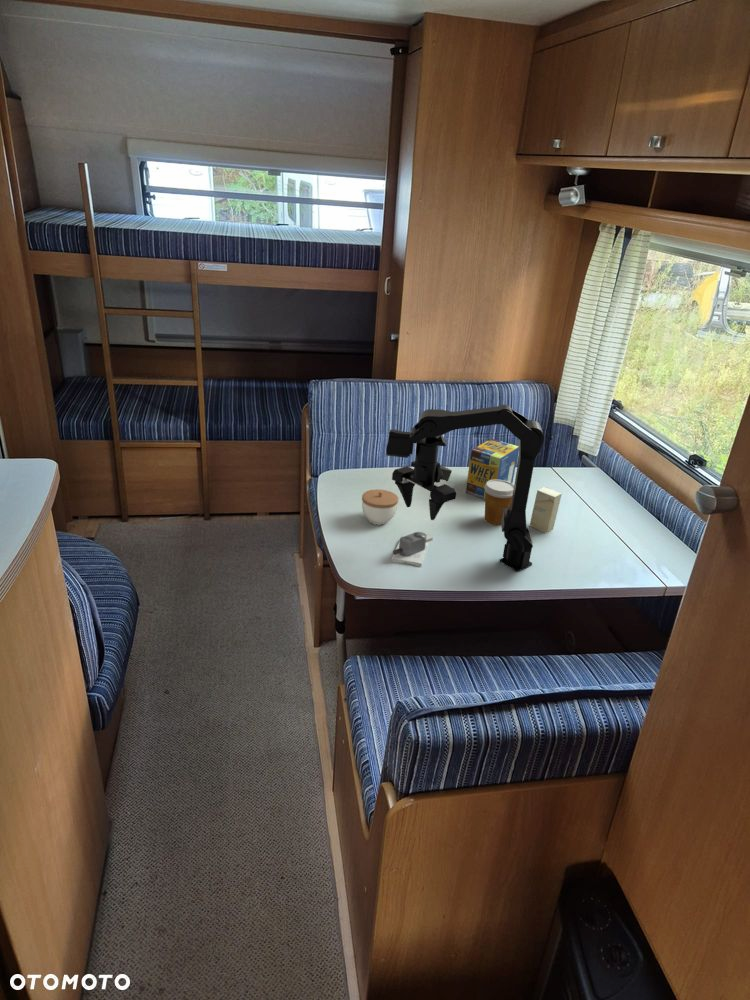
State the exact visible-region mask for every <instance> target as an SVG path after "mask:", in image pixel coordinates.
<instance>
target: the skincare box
mask: <svg viewBox="0 0 750 1000" xmlns="http://www.w3.org/2000/svg"><path fill="white" fill-rule="evenodd" d="M562 495H563V494H562V492H559V491H557V490H554V489H552V488H549V487H547V486H542V487H540V488H538V489H537V490H536V495H535V499H534V504H533V509H532V512H531V516H530V517H531V518H530V522H529V526H530V527H532V528H534V529H536V530H539V531H541V532H543V533H545V532H546V533H549V532H551V531H552V530H554V528H555V524H556V520H557V515H558V512H559V506H560V502H561V498H562Z"/></svg>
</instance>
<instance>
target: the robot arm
mask: <svg viewBox="0 0 750 1000" xmlns="http://www.w3.org/2000/svg"><path fill="white" fill-rule="evenodd" d="M511 407H512V406H511ZM511 407H510V405H508V404H501V405H498V406H490V407H483V408H473V409H466V410H465V409H464V410H458V411H456V410H455V411H449V410H446V409H445V410H444V409H438V408H437V409H436V408H435V409H434V408H428V409H425V410H423V412H422V413H421V414H420V415H419V417H418V421H417V422H416V423H415V425H414V426H413V427H412V428H411V430H410V431H404V430H402V431H401V430H397V429H389V431H388V438H387V443H386V450H385V451H386V453H385V455H386V457H396V458H405V459H408V458H410V456H411V455H413V454H414V447H415V456H414V460H413V461H411V462H410V466H411V467H410V466H408V465H406V466H402V467H399V468H396V469H394V470H393V472H392V475H391V480H392V481H394V484H395V485H396V487H397V488H398V490H399V491H400V494H401V496H402V500H403V501H404V505H405V506H406V508H410V507H411V505H412V503H413V496H414V495H413V493H414V487H415V485H416V486H419V487H420V488H423V489H425V490H426V491H429V497H430V498H429V499H428V507H429V509H428V510H429V516H430V520H431V521H435V519H436V517H437V516H438V514H439V512H440V510H441V508H442V506H443V505H444V503H449V502H450V501H454V500H455V499H456V497H457V490H456V488H453V487H452V486H449V485H447V484H445V483H444V484H441V485H439V486H438V485H436V484H438V483H441V481H445V482H449V480H450V477H451V474H452V472H453V470H452V469H450V468H447V467H445V466H444V465H441V463H439V462H438V454H439V448H440V447H446V446H447V439H446V438H445V437H444V436H443V435H445V434H448V433H449V432H451V431H455V430H460V429H461V430H463V429H469V428H470V429H471V428H478V427H480V428H481V427H486V426H487V427H488V426H497V425H501V426H504V428H506V429H507V430H508V431H509V432H510V433H511V434H513V436H514V437H515V438H517V439H518V446H519V450H518V455H519V456H518V459H517V460H518V461H517V465H516V466H517V467H516V471H515V479H514V489H513V495H512V501H511V505H510V507H509V508H508V509H505V508H503V517H502V519H501V525H500V526H501V532H503V536H504V538H505V540H506V542H505V544H504V546H503V552H502V558H500V559H499V562H500V563H502V564H503V565H505V566H507V567H508V568H511V569H512V570H514V571H516V572H520V571H522V570H525V569H526V568H529V567H530V566H533V562H531V561H530V559H531V555H532V549H533V547H534V545H533V539H532V533H531V531H530V529H529V528H528V527H527V511H526V510H527V507H528V499H529V494H530V488H531V482H532V476H533V473H534V467H535V461H536V459H537V458H538V457H539V455H540V453H541V450H542V448H543V445H544V442H545V434H544V432H543V429H542V426H541V424H540V423H539V422H538V421H537V420H533V419H528V418H527V417H526V416H525V415H523V414H521V413H519V412H518V411H516V410H514V409H513V408H511ZM415 445H416V446H415ZM412 467H413V468H412ZM435 483H436V484H435Z"/></svg>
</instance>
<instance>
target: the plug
mask: <svg viewBox="0 0 750 1000" xmlns="http://www.w3.org/2000/svg"><path fill="white" fill-rule="evenodd" d="M399 540H400V543H399V542H398V543H399V549H394V550H393V551H392V554H393V555H396V554H398V553H399V554H400V555H402V556H410V555H413V554H415V553H418V552H421V551H423V550H425V544H426V543H427V542H429V543H430V542H432V541H433V540H434V539H433V537H432V536H431V535H429V534H426V533H425V532H422V531H416V532H412V533H410V534H407V535H405V536H401V537H400V538H399Z"/></svg>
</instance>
